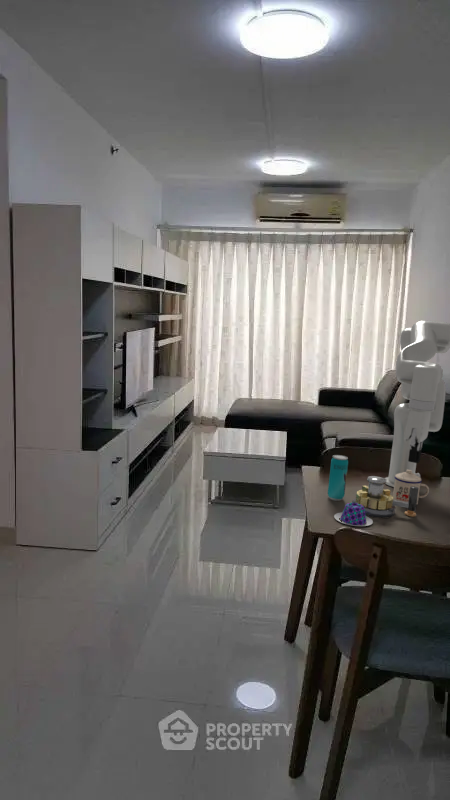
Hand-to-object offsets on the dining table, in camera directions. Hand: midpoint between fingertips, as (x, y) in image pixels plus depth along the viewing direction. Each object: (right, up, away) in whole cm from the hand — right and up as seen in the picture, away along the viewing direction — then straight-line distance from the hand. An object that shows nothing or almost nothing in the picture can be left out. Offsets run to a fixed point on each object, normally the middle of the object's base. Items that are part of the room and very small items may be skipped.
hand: (413, 461), depth 192 cm
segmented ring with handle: (-7, -15, +9) cm, 19 cm away
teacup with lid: (+5, -17, +22) cm, 28 cm away
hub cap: (-10, -17, +11) cm, 23 cm away
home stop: (+2, -18, +9) cm, 20 cm away
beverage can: (-21, -15, +20) cm, 32 cm away
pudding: (-19, -19, 0) cm, 27 cm away
